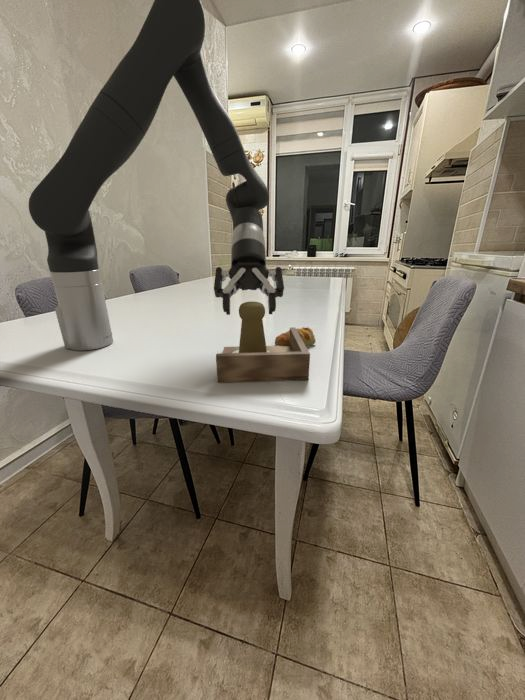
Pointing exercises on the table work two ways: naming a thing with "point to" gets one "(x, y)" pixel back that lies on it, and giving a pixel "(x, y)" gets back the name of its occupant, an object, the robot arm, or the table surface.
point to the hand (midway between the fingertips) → (249, 312)
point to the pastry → (304, 333)
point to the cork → (252, 328)
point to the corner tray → (265, 363)
